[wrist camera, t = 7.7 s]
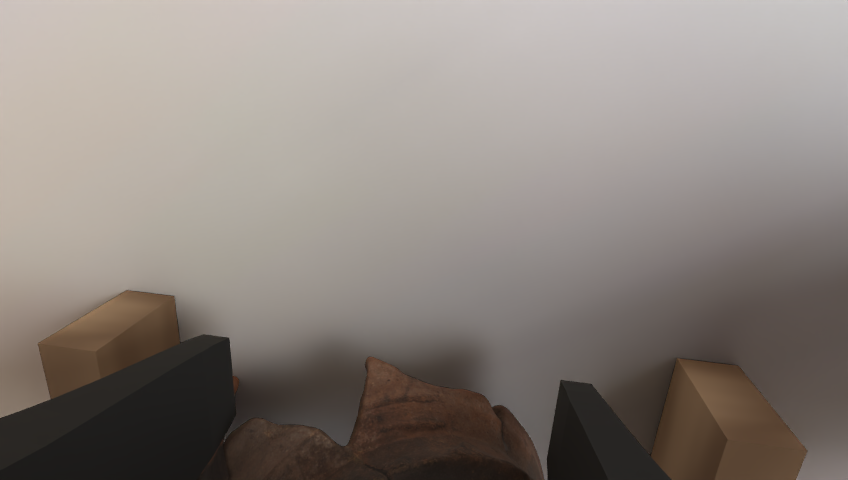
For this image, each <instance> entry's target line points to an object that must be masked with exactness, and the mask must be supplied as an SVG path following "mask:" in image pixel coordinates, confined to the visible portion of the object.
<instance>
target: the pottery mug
mask: <svg viewBox="0 0 848 480" xmlns="http://www.w3.org/2000/svg"><path fill="white" fill-rule="evenodd" d="M365 367H366V370H367V376H366V380H365V387H364V391H363V394H362V397H361V400H360V406H359V410H358V416H357V419H356V422H355V425H354V429H353V432H352V435H351V438H350V440H349V443H348V444H347V445H346V446H340V445H338V444H337V443H336V442H334V441H333V440H332V439H331V438H330V437H329V436H328V435H327V434H326V433H324V432H323V431H322V430H319V429H317V428H314V427H309V426H304V425H290V424H288V425H278V424H274V423H272V422H270V421H267V420H265V419H263V418H253V419H250V420H248V421H247V422H245V423H244V424H242V425H241V426H240V427H239V428H237V429H236V430H234V431H233V432H232V433H230V435H229V436H228V437H227V438H226V440H225V442H223V440H224V438H223V440H222V442H221V443H220V445H219V447H218V449H217V450H216V452H215V454H214V456H213V457H212V459H211V460H210V461H209V463H208V464H207V466H206V467H205V469H204V470H203V471H202V473H201V474H200V476H199V477H198V478H197V480H544V477H543V472H542V468H541V463H540V460H539V457H538V455H537V451H536V449H535V447H534V444H533V442H532V441H531V439H530V437H529V435H528V433H527V432H526V431H525V429H524V428H523V427H522V426H521V424H520V423H519V422H518V420H517V419H516V418H515V417H514V415H513V414H512V413H511V412H510V411H509V410H508V409H507V408H506V407H504V406H501V405H497V406H494V407H491V405H490V403H489V401H488V400H487V399H486V398H485V396H483V395H481V394H479V393H475V392H472V391H469V390H465V389H450V388H447V387H441V386H435V385H431V384H428V383H425V382H423V381H420V380H417V379H415V378H413V377H411V376H408V375H406V374H404V373H402V372H401V371H400V370H399V369H398V368H396V367H394V366H392V365H390V364H388V363H386V362H384V361H381V360H379V359H376V358H374V357H368V358H367V359H366V362H365ZM233 385H234V395H235V393H236V391H237V389H238V386H239V379H238V378H237V377H235V376H233Z"/></svg>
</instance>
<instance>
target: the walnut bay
mask: <svg viewBox="0 0 848 480" xmlns="http://www.w3.org/2000/svg"><path fill="white" fill-rule="evenodd" d="M178 344H180V339H179V331H178V323H177V315H176V307H175V299H174V296H168V295H160V294H152V293H144V292H136V291H128V290H127V291H125V292H123V293H122V294H120V295H118V296H117V297H115V298H113V299H112V300H110V301H108V302H107V303H105V304H103V305H102V306H100V307H98V308H96V309H95V310H93V311H91V312H90V313H88V314H86V315H85V316H83V317H81V318H80V319H78V320H76V321H75V322H73V323H71V324H70V325H68V326H66V327H65V328H63V329H61V330H60V331H58V332H56V333H55V334H53V335H51V336H50V337H48V338H46V339H45V340H43V341H41V342H40V343H38V346H39V351H40V355H41V359H42V363H43V368H44V372H45V376H46V380H47V385H48V389H49V393H50V397H51V399H53V398H55V397H58V396H60V395H63V394H65V393H67V392H70V391H72V390H75V389H77V388H80V387H82V386H84V385H87V384H89V383H92V382H94V381H96V380H99V379H101V378H104V377H106V376H108V375H110V374H113V373H115V372H117V371H119V370H122V369H124V368H126V367H128V366H131V365H133V364H135V363H137V362H139V361H142V360H144V359H146V358H148V357H151V356H153V355H155V354H157V353H159V352H162V351H164V350H166V349H168V348H171V347H173V346H175V345H178ZM806 453H807V450H806V448H805V447H804V446H803V445H802V444H801V442H800V441H799V440H798V439H797V437H796V436H795V435H794V434H793V432H792V431H791V430H790V429H789V428H788V426H787V425H786V424H785V423H784V421H783V420H782V419H781V418H780V416H779V415H778V414H777V413H776V412H775V410H774V409H773V408H772V407H771V405H770V404H769V403H768V402H767V400H766V399H765V398H764V397H763V396H762V394H761V393H760V392H759V391H758V389H757V388H756V387H755V386H754V384H753V383H752V382H751V381H750V380H749V378H748V377H747V376H746V375H745V373H744V372H743V371H742V370H741V368H740V367H739V366H736V365H728V364H720V363H712V362H704V361H696V360H688V359H679V358H677V360H676V364H675V368H674V371H673V375H672V379H671V382H670V386H669V390H668V394H667V397H666V401H665V405H664V408H663V412H662V416H661V420H660V423H659V427H658V431H657V434H656V438H655V442H654V446H653V449H652V453H651V458H652V459H653V460H654V461H655V462H656V463H657V464H658V465H659V466H660V468H661V469H662V470H663V471H664V472H665V473H666V474H667V475H668V476H669V477H670V478H671V479H672V480H796V478H797V476H798V473H799V471H800V468H801V466H802V463H803V461H804V458H805V456H806Z"/></svg>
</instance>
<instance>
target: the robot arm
mask: <svg viewBox="0 0 848 480" xmlns="http://www.w3.org/2000/svg"><path fill="white" fill-rule="evenodd" d="M235 415H236V408H235V397H234V385H233V374H232V363H231V352H230V341H229V338H227V337H219V336H211V335H201V336H198V337H195V338H192V339H190V340H187V341H185V342H182V343H180V344H178V345H175V346H173V347H171V348H168V349H166V350H164V351H162V352H159V353H157V354H155V355H153V356H151V357H148V358H146V359H144V360H142V361H139V362H137V363H135V364H133V365H131V366H128V367H126V368H124V369H122V370H119V371H117V372H115V373H113V374H110V375H108V376H106V377H104V378H101V379H99V380H96V381H94V382H92V383H89V384H87V385H84V386H82V387H80V388H77V389H75V390H72V391H70V392H67V393H65V394H63V395H60V396H58V397H55V398H53V399H51V400H48V401H46V402H43V403H40V404H38V405H35V406H33V407H30V408H27V409H24V410H22V411H19V412H16V413H14V414H11V415H8V416H5V417H2V418H0V480H197V478H198V477H199V476H200V474H201V473H202V471H203V470H204V469H205V467H206V466H207V464H208V463H209V461H210V460H211V459H212V457H213V456H214V454H215V452H216V450H217V449H218V447H219V445H220V443H221V442H222V440H223V438H224V436H225V434H226V432H227V431H228V429H229V427H230V425H231V423H232V421H233V419H234V417H235ZM547 471H548V480H672V479H671V478H670V477H669V476H668V475H667V474H666V473H665V472H664V471H663V470H662V469H661V468H660V466H659V465H658V464H657V463H656V462H655V461H654V460H653V459H652V458H651V456H650V455H649V454H648V453H647V452H646V451H645V449H644V448H643V447H642V446H641V445H640V444H639V442H638V441H637V440H636V439H635V438H634V436H633V435H632V434H631V433H630V432H629V430H628V429H627V428H626V427H625V425H624V424H623V423H622V422H621V420H620V419H619V418H618V417H617V415H616V414H615V413H614V412H613V410H612V409H611V408H610V407H609V405H608V404H607V403H606V402H605V400H604V399H603V398H602V397H601V395H600V394H599V393H598V392H597V390H596V389H595V388H594V387H593V385H592V384H587V383H579V382H572V381H564V380H561V382H560V387H559V393H558V399H557V405H556V410H555V416H554V422H553V427H552V433H551V439H550V445H549V450H548V456H547Z"/></svg>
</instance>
